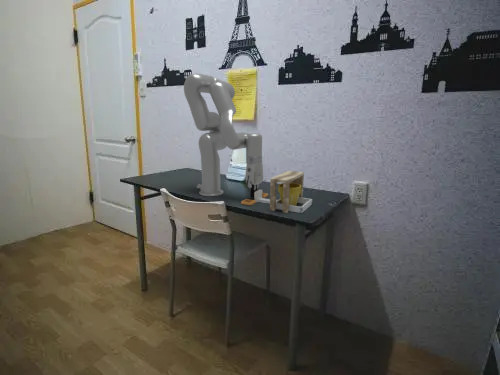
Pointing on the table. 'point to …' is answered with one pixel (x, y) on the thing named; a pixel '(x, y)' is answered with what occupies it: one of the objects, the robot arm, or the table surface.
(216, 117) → the robot arm
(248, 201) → the pit tray near right
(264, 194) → the pit tray near left
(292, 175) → the tunnel
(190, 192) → the table surface
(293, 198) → the plant pot
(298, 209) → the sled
